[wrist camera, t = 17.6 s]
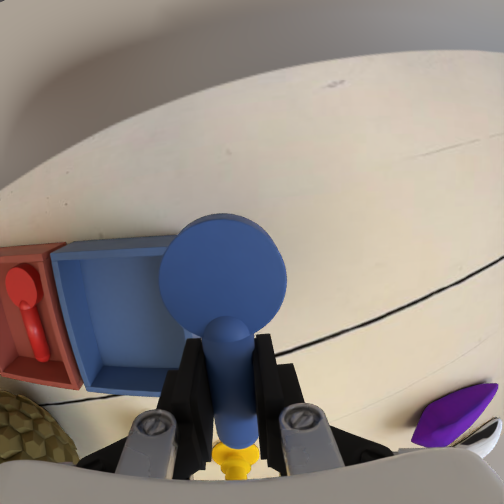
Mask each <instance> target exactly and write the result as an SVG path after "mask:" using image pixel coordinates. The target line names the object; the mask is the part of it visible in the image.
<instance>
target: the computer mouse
mask: <svg viewBox="0 0 504 504" xmlns="http://www.w3.org/2000/svg"><path fill="white" fill-rule="evenodd" d="M501 428H502V420H501V419H494V420H492V421H490V422H488V423H487V424H485V425H484V426H483V427H481V428H480V429H479V430H478V431H476V432H475V433H474V434H473V435H471V436H470V437H469V438H467V439H466V440H464V441H463V442H461V443H459V444H457V445H456V446H454V447H456V448H463V449H467V450H470V451H472V452H474V453H476V454H477V455H479V456H480V457H481V458H484V457H485V456H486V455H487V454H489V453H490V452H491V450H492V449H493V448H494V447H495V445H496V443H497V441H498V439H499V436H500V433H501Z"/></svg>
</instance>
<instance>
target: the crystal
mask: <svg viewBox="0 0 504 504" xmlns="http://www.w3.org/2000/svg"><path fill="white" fill-rule="evenodd" d="M497 390H498V384H497V383H486V384H479V385H475V386H471V387H467V388H464V389H461V390H459V391H456V392H453V393H451V394H449V395H447V396H445V397H443V398H441V399H439V400H437V401H435V402H433V403H431V404H429V405H428V406H427V407H426V408H425V410H424V412H423V413H422V416H421V418H420V420H419V422H418V424H417V427H416V429H415V432H414V434H413V436H412V439H411V442H413V443H415V444H418V445H421V446H424V447H427V448H433V447H446V446H448V445H449V444H451V443H452V442H453V441H454V440H455V439H457V438H458V437H459V436H460V435H461V434H462V433H464V432H465V431H466V430H467V429H468V428H469V427H470V426H471V425H472V424H473V423H474V422H475V421H476V420H477V418H478V417H479V416H480V415H481V414H482V412H483V411H484V410H485V408H486V407H487V406H488V404H489V403H490V401H491V400H492V398H493V397H494V395H495V394H496V392H497Z"/></svg>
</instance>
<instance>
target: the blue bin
mask: <svg viewBox="0 0 504 504" xmlns="http://www.w3.org/2000/svg"><path fill="white" fill-rule="evenodd" d="M176 236H177V235H166V236H149V237H133V238H117V239H102V240H88V241H74V242H72V243H70V244H68V245H66V246H64V247H62V248H60V249H58V250H55V251H53V252H51V253H50V256H51V261H52V267H53V273H54V278H55V283H56V288H57V292H58V297H59V301H60V305H61V309H62V313H63V317H64V321H65V325H66V329H67V332H68V336H69V339H70V343H71V346H72V349H73V353H74V356H75V359H76V362H77V365H78V368H79V371H80V374H81V377H82V379H83V382H84V385H85V388H86V390H87V391H88V392H97V393H107V394H117V395H130V396H146V397H160V394H161V391H162V388H163V384H164V381H165V378H166V374H167V372H168V370H179V366H180V362H181V358H182V354H183V351H184V347H185V343H186V339H187V338H201V337H200V336H197V335H195V334H193V333H191V332H189V331H188V330H186V329H185V328H183V327H182V326H181V325H180V324H178V323H177V322H176V321H175V320H174V319H173V317H172V316H171V315H170V313H169V312H168V311H167V309H166V307H165V305H164V303H163V301H162V298H161V295H160V291H159V286H158V271H159V266H160V262H161V259H162V256H163V254H164V252H165V250H166V248H167V247H168V246H169V244H170V243H171V241H172V240H173V239H174V238H175V237H176Z"/></svg>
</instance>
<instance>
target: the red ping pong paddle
mask: <svg viewBox="0 0 504 504" xmlns="http://www.w3.org/2000/svg"><path fill="white" fill-rule="evenodd" d="M5 284H6V290H7V293H8V295H9V297H10V299H11V300H12V302H13V303H14V304H15V305H16V306H17V307H19V308H20V312H21V316H22V319H23V322H24V326H25V329H26V332H27V335H28V338H29V341H30V344H31V347H32V350H33V353H34V356H35V358H36V359H37V360H38V361H39V362H42V363H44V362H47V361H48V360H49V359H50V356H51V353H50V349H49V346H48V343H47V340H46V337H45V334H44V330H43V327H42V324H41V320H40V316H39V313H38V309H37V304H38V303H39V302H40V301H41V300H42V298H43V295H44V292H43V287H42V283H41V278H40V274H39V272H38V271H37V270H36V269H35V268H34V267H33V266H31V265H30V264H26V263H21V264H19V265H17V266H15V267H13V268H11V269H10V270H9V271H8V273H7V275H6V280H5Z"/></svg>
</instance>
